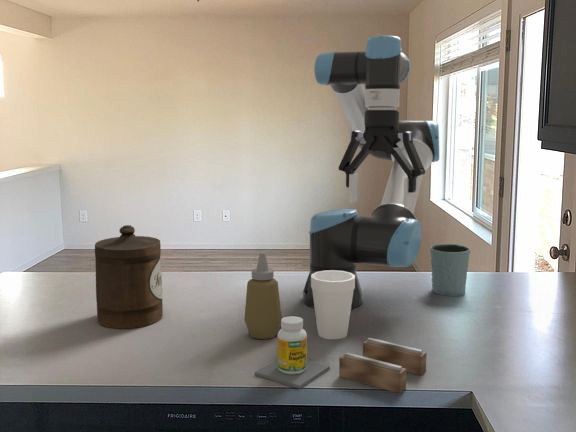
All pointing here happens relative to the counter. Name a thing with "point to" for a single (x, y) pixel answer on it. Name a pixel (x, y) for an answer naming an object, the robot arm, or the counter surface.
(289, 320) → the supplement bottle
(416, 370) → the wooden blocks
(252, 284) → the squeeze bottle
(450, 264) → the green cup
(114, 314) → the wooden container
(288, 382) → the mat
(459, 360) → the counter surface
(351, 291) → the foam cup
